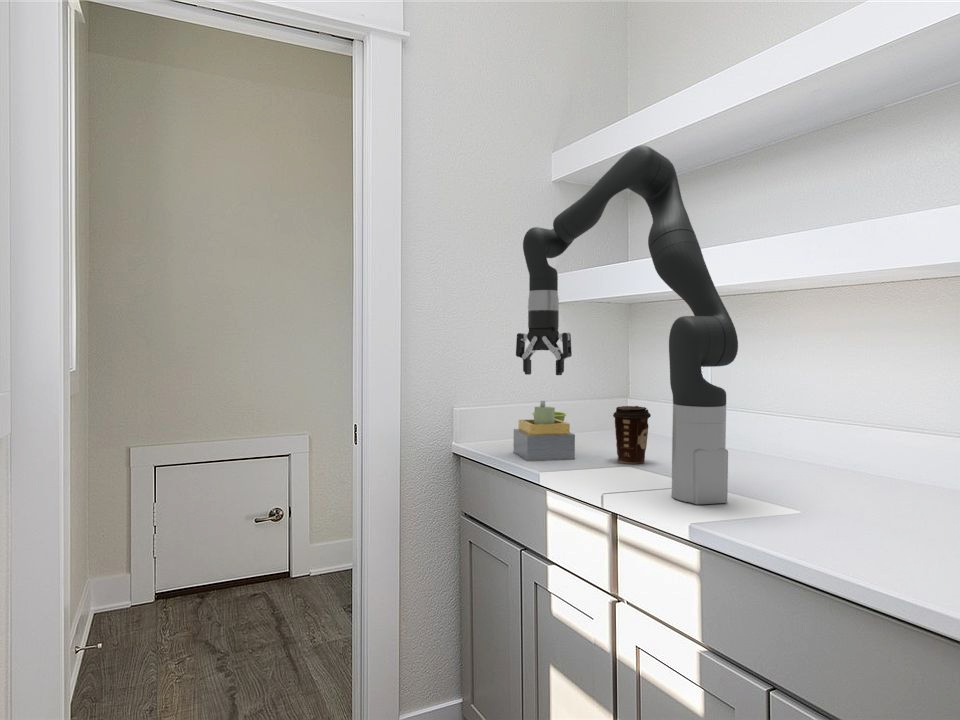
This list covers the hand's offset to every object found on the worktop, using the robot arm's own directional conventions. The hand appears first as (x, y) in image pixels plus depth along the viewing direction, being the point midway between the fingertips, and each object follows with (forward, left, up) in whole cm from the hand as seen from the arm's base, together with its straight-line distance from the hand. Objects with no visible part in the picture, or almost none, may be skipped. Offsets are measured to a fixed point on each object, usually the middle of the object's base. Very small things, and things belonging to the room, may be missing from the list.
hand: (543, 374), depth 159 cm
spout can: (0, 0, -17) cm, 17 cm away
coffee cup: (-12, -18, -20) cm, 30 cm away
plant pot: (+16, -7, -20) cm, 27 cm away
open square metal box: (0, 0, -20) cm, 20 cm away
